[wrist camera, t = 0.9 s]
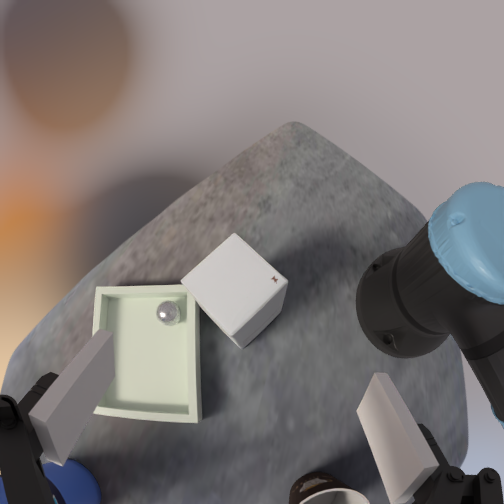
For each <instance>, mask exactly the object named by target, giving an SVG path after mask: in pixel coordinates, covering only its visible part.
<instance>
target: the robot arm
mask: <svg viewBox="0 0 504 504" xmlns="http://www.w3.org/2000/svg"><path fill="white" fill-rule="evenodd" d="M356 310H357V316H358V320H359V323H360V325H361V327H362V330H363V331H364V333H365V335H366V336H367V338H368V339H369V340H370V341H371V343H372V344H373V345H374V346H375V347H377V348H378V349H379V350H381V351H382V352H384V353H386V354H388V355H390V356H393V357H397V358H414V357H418V356H422V355H425V354H427V353H430V352H431V351H433V350H435V349H436V348H437V347H439V346H440V345H441V344H442V343H443V342H444V341H445V339H446V338H447V337H448V336H449V335H450V334H451V335H452V336H453V338H454V340H455V341H456V343H457V344H458V346H459V348H460V349H461V351H462V353H463V354H464V356H465V358H466V359H467V361H468V363H469V365H470V366H471V368H472V370H473V372H474V373H475V375H476V377H477V379H478V381H479V383H480V384H481V386H482V388H483V390H484V392H485V394H486V396H487V398H488V399H489V401H490V403H491V409H492V412H493V414H494V416H495V418H496V419H497V420H498V421H499V422H500V423H501V425H502V427H503V428H504V187H502V186H495V185H493V184H491V183H487V182H475V183H470V184H468V185H465V186H463V187H461V188H459V189H458V190H457V191H456V192H455V193H454V194H453V195H452V196H451V197H450V198H449V199H448V200H447V201H446V202H444V203H442V204H441V205H439V206H438V207H437V208H436V209H435V211H434V212H433V215H432V217H431V218H430V220H429V221H428V222H427V223H426V224H425V226H424V227H423V228H422V229H421V230H420V231H419V232H418V234H417V235H416V236H415V237H414V238H413V239H412V240H411V241H410V242H409V243H408V244H407V246H405V247H401V248H398V249H394V250H391V251H388V252H386V253H384V254H382V255H381V256H380V257H378V258H377V259H376V260H375V261H374V262H373V263H372V264H371V265H370V266H369V267H368V269H367V270H366V271H365V273H364V274H363V276H362V278H361V280H360V282H359V285H358V289H357V294H356ZM114 377H115V365H114V345H113V332H110V331H106V330H102V329H99V330H98V331H97V332H96V333H95V334H94V335H93V337H92V338H91V339H90V340H89V341H88V342H87V343H86V345H85V346H84V347H83V348H82V349H81V350H80V351H79V353H78V354H77V355H76V356H75V357H74V359H73V360H72V361H71V362H70V363H69V364H68V366H67V367H66V368H65V369H64V370H63V372H62V373H61V374H60V375H57V374H55V373H52V372H50V373H48V374H46V375H44V376H42V377H41V378H40V379H39V380H38V381H37V382H36V384H35V385H34V386H33V387H32V388H31V389H30V391H29V392H28V393H27V394H26V395H25V396H24V398H23V399H22V400H21V401H20V402H19V403H18V405H17V403H16V401H15V400H14V399H13V398H12V397H10V396H8V395H0V471H1V476H2V481H3V485H4V490H5V494H6V498H7V502H8V504H55V501H54V498H53V496H52V493H51V490H50V487H49V485H48V482H47V479H46V476H45V473H44V469H43V466H42V463H41V460H40V458H39V457H40V456H41V454H42V452H44V454H45V456H46V459H47V460H49V461H51V462H54V463H56V464H58V465H60V466H63V465H64V464H65V462H66V460H67V458H68V456H69V454H70V453H71V451H72V449H73V447H74V445H75V444H76V442H77V440H78V438H79V437H80V435H81V433H82V431H83V430H84V428H85V426H86V424H87V423H88V421H89V419H90V417H91V416H92V414H93V412H94V411H95V409H96V407H97V405H98V404H99V402H100V400H101V399H102V397H103V395H104V394H105V392H106V390H107V389H108V387H109V385H110V384H111V382H112V380H113V379H114ZM357 414H358V416H359V419H360V422H361V424H362V427H363V429H364V432H365V435H366V437H367V440H368V443H369V445H370V448H371V451H372V453H373V456H374V459H375V461H376V464H377V467H378V469H379V472H380V475H381V478H382V481H383V483H384V486H385V489H386V492H387V495H388V497H389V500H390V503H391V504H401V503H406V502H407V501H408V500H409V499H410V498H411V497H412V496H414V499H415V501H414V502H413V503H412V504H504V503H503V494H502V487H501V480H500V476H499V474H498V473H497V472H496V471H495V470H494V469H492V468H484V469H482V470H481V471H480V472H479V473H478V474H477V475H465V473H464V472H463V471H462V470H461V469H459V468H458V467H454V466H450V465H449V464H448V462H447V460H446V458H445V457H444V455H443V453H442V451H441V450H440V448H439V446H438V445H437V443H436V441H435V439H434V437H433V436H432V434H431V432H430V431H429V430H428V429H427V428H426V427H425V426H424V425H423V424H417V423H416V422H415V420H414V418H413V416H412V415H411V413H410V411H409V409H408V408H407V406H406V404H405V402H404V401H403V399H402V397H401V396H400V394H399V392H398V391H397V389H396V387H395V385H394V384H393V382H392V380H391V379H390V377H389V375H388V374H387V373H377V372H374V375H373V377H372V379H371V381H370V384H369V386H368V388H367V390H366V392H365V395H364V397H363V399H362V401H361V403H360V405H359V407H358V409H357Z"/></svg>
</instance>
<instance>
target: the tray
mask: <svg viewBox="0 0 504 504" xmlns="http://www.w3.org/2000/svg"><path fill="white" fill-rule="evenodd" d="M167 300H169V301H173V302H175V303H177V304H178V305H179V307H180V309H181V318H180V320H179V322H178V323H177V324H175V325H173V326H165V325H163V324H161V323H160V322H159V321H158V319H157V317H156V309H157V307H158V305H159V304H160V303H161V302H163V301H167ZM99 329H102V330H106V331H110V332H113V345H114V365H115V377H114V379H113V380H112V382H111V384H110V385H109V387H108V389H107V390H106V392H105V394H104V395H103V397H102V399H101V400H100V402H99V404H98V405H97V407H96V409H95V411H94V412H93V413H95V414H101V415H108V416H115V417H123V418H131V419H141V420H152V421H165V422H183V423H199V422H200V421H202V400H201V370H200V305H199V304H198V303H197V301H196V300H195V299H194V297H193V296H192V295H191V294H190V293H189V292H188V290H187V289H186V288H185V287H184V285H183V284H182V285H154V286H117V287H96V295H95V305H94V318H93V333H92V337H93V335H94V334H95V333H96V332H97V331H98V330H99Z"/></svg>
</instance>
